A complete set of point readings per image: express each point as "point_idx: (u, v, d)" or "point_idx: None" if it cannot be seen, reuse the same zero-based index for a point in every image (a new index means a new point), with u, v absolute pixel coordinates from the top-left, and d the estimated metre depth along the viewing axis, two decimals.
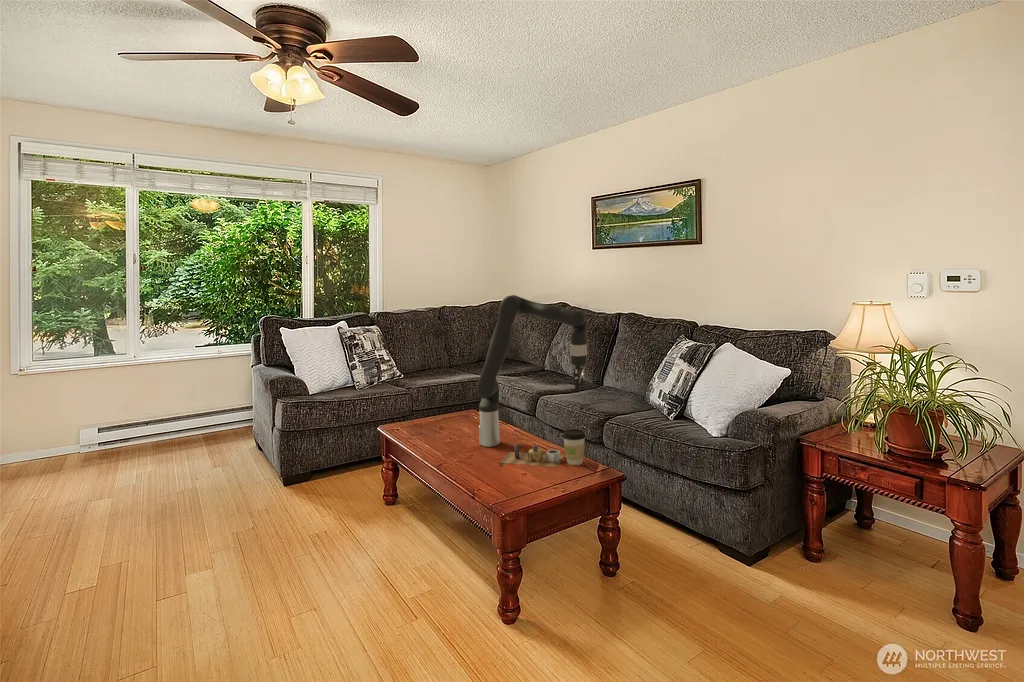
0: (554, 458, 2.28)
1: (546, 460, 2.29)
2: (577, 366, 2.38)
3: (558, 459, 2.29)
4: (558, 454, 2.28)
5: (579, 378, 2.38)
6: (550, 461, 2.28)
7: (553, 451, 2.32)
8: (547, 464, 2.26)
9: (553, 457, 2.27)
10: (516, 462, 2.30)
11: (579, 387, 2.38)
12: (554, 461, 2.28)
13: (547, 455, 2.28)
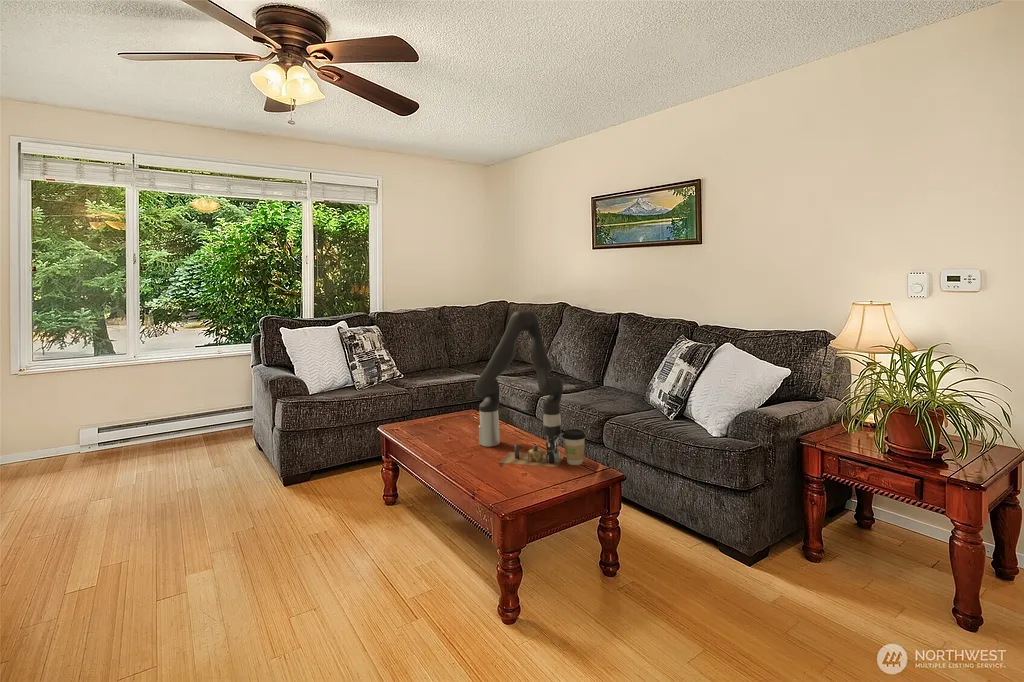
0: (554, 458, 2.27)
1: (546, 460, 2.29)
2: (550, 437, 2.25)
3: (558, 459, 2.28)
4: (558, 454, 2.28)
5: (553, 450, 2.26)
6: None
7: None
8: (547, 464, 2.26)
9: None
10: (516, 462, 2.30)
11: (553, 460, 2.27)
12: (554, 461, 2.28)
13: (547, 455, 2.28)
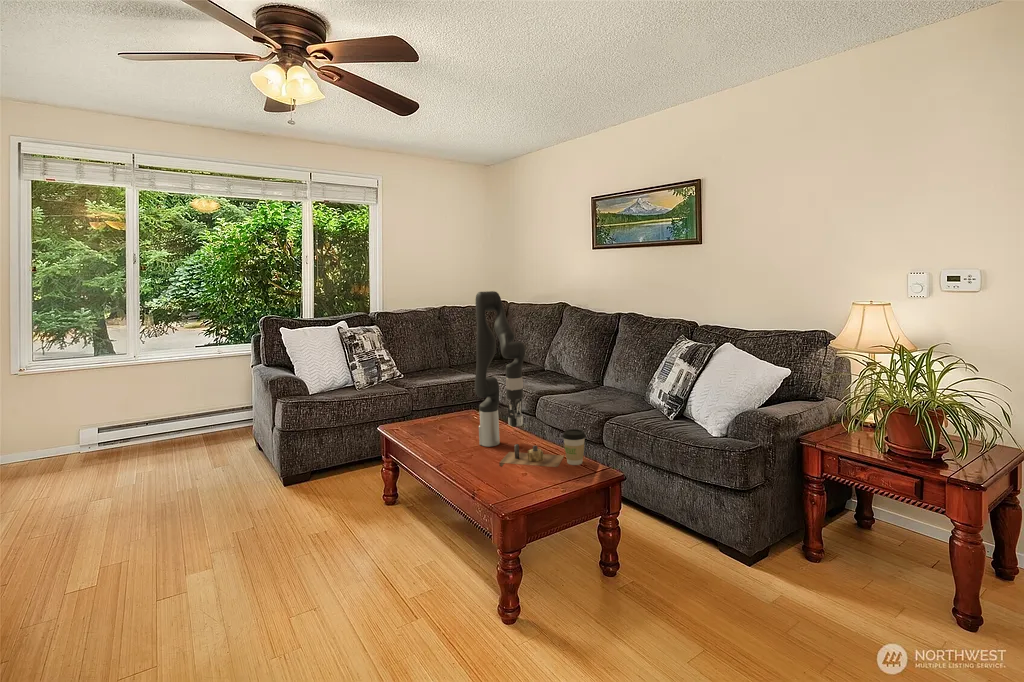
0: (516, 421, 2.31)
1: (509, 423, 2.32)
2: (512, 400, 2.28)
3: (520, 422, 2.32)
4: (520, 417, 2.31)
5: (515, 414, 2.29)
6: None
7: (516, 415, 2.35)
8: (547, 464, 2.26)
9: None
10: (516, 462, 2.30)
11: (515, 423, 2.30)
12: (516, 424, 2.31)
13: (509, 418, 2.31)
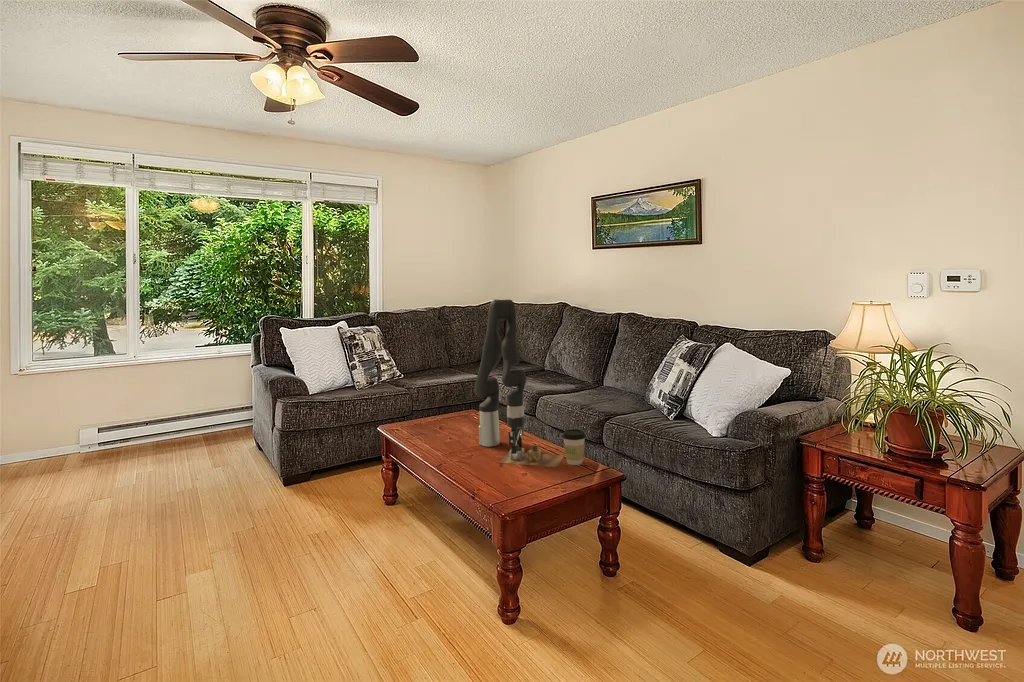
0: (517, 455, 2.33)
1: (510, 457, 2.34)
2: (513, 428, 2.30)
3: (522, 456, 2.34)
4: (521, 451, 2.33)
5: (515, 441, 2.30)
6: (514, 458, 2.33)
7: None
8: (547, 464, 2.26)
9: (516, 454, 2.32)
10: (516, 462, 2.30)
11: (515, 450, 2.30)
12: (517, 458, 2.33)
13: None
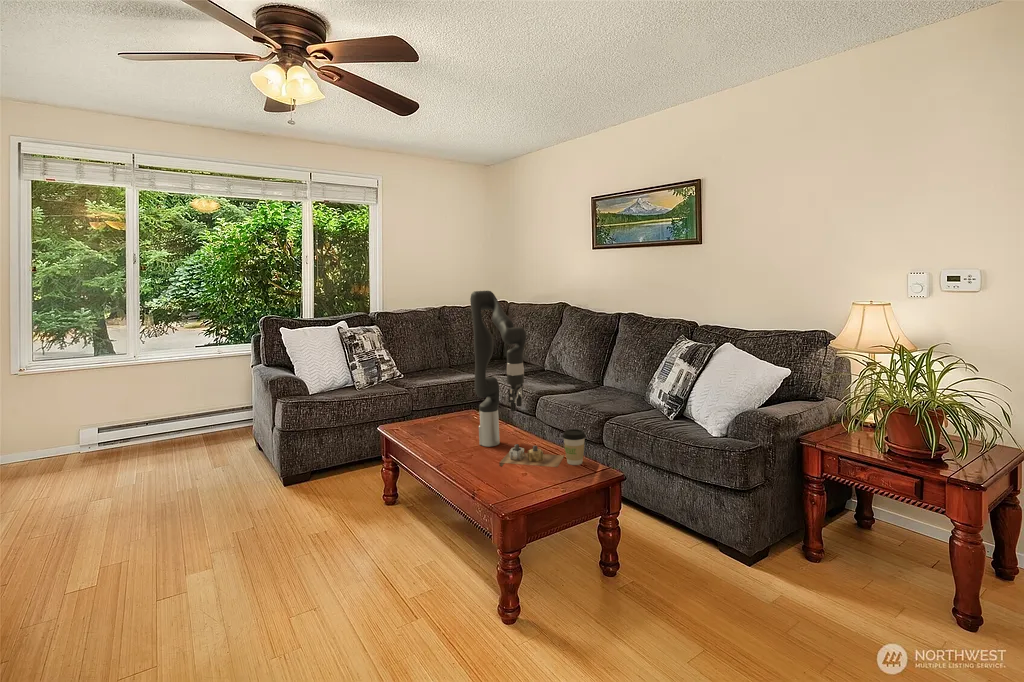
0: (517, 455, 2.33)
1: (510, 457, 2.34)
2: (513, 386, 2.28)
3: (522, 456, 2.34)
4: (521, 451, 2.33)
5: (515, 398, 2.28)
6: (514, 458, 2.33)
7: None
8: (547, 464, 2.26)
9: (516, 454, 2.32)
10: (516, 462, 2.30)
11: (515, 407, 2.29)
12: (517, 458, 2.33)
13: (511, 452, 2.33)
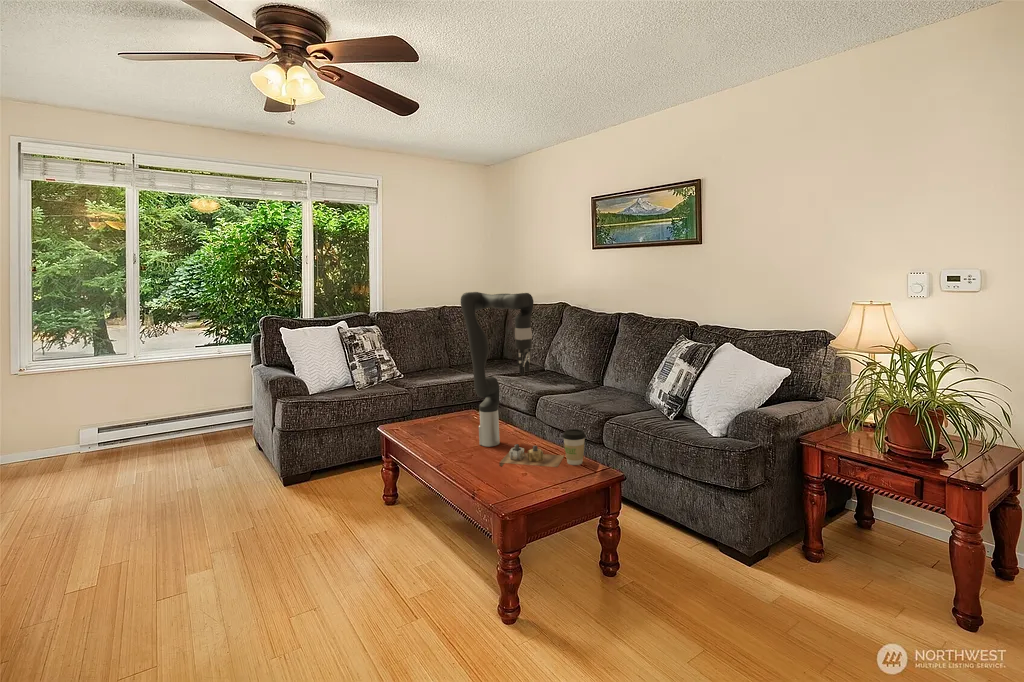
0: (517, 455, 2.33)
1: (510, 457, 2.34)
2: (521, 350, 2.34)
3: (522, 456, 2.34)
4: (521, 451, 2.33)
5: (523, 362, 2.34)
6: (514, 458, 2.33)
7: None
8: (547, 464, 2.26)
9: (516, 454, 2.32)
10: (516, 462, 2.30)
11: (523, 371, 2.35)
12: (517, 458, 2.33)
13: (511, 452, 2.33)
